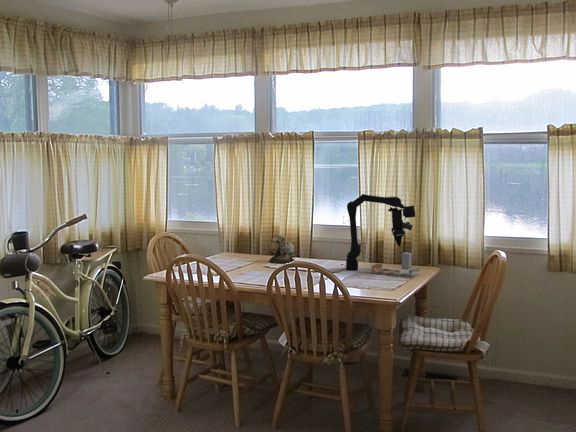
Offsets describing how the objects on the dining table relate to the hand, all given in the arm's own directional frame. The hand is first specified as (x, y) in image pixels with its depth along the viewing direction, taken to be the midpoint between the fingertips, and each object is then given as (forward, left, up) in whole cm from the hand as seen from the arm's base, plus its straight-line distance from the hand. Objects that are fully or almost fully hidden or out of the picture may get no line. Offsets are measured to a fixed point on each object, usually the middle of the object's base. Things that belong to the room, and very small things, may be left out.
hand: (398, 245), depth 341 cm
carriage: (+2, -15, -13) cm, 20 cm away
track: (-3, -12, -15) cm, 19 cm away
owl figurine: (-69, +25, -15) cm, 75 cm away
